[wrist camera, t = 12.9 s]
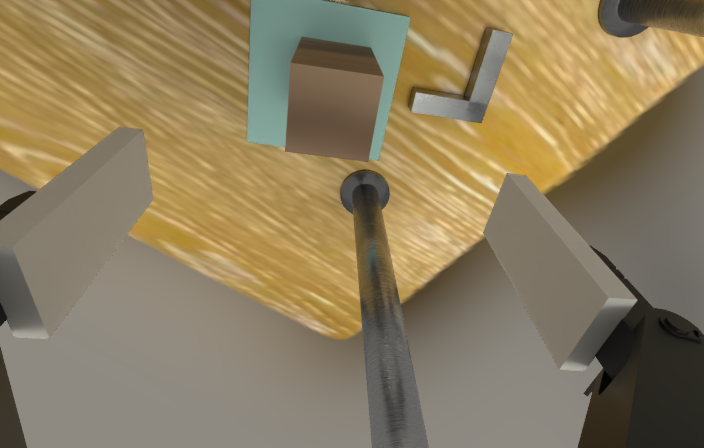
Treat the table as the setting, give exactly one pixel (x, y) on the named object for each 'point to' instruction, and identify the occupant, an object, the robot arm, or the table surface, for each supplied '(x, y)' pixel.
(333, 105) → the walnut block
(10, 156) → the table surface
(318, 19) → the pad
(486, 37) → the gray corner bracket
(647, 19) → the post
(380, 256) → the post
